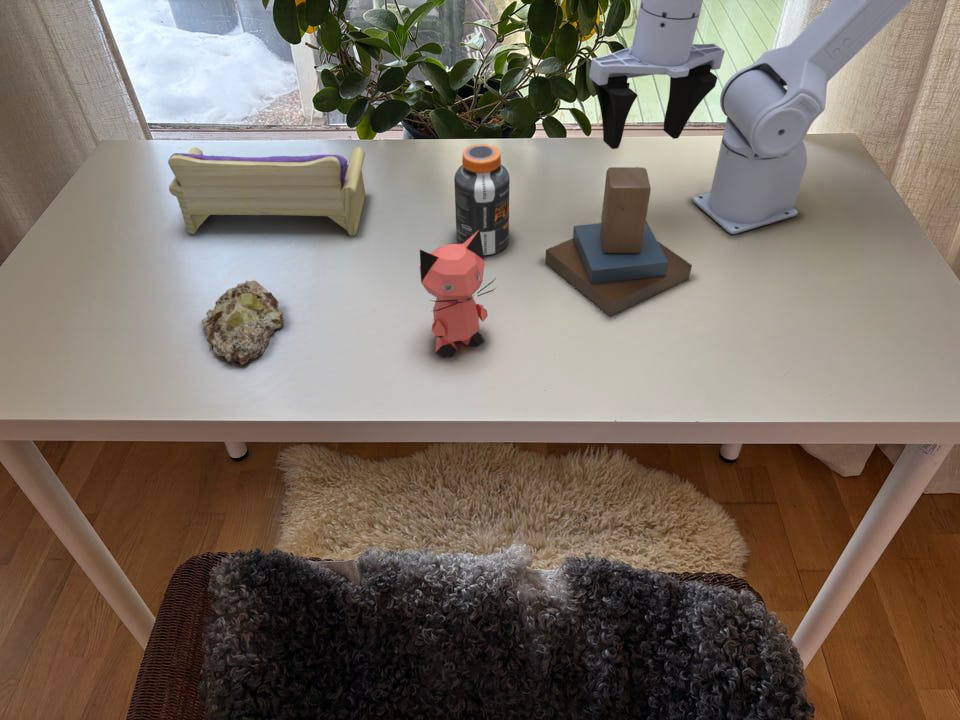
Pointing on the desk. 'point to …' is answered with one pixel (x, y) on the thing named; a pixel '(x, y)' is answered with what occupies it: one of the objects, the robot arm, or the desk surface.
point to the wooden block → (624, 209)
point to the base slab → (618, 292)
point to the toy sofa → (269, 186)
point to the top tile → (618, 257)
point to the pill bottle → (482, 198)
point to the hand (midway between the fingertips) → (641, 139)
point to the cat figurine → (455, 292)
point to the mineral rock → (243, 322)
